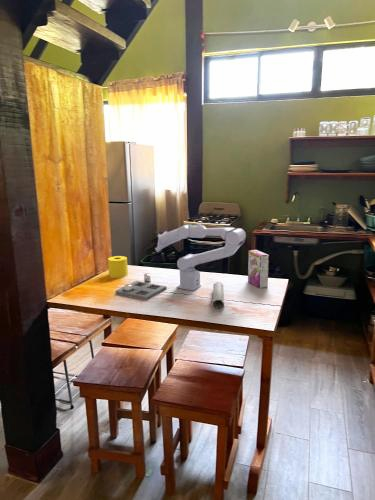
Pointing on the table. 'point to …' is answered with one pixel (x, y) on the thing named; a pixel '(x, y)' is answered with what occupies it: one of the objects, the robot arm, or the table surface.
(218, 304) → the tube
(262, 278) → the candy bar box
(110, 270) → the tape roll
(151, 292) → the hole board
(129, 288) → the pin
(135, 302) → the table surface
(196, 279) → the robot arm
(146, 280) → the loose pin
